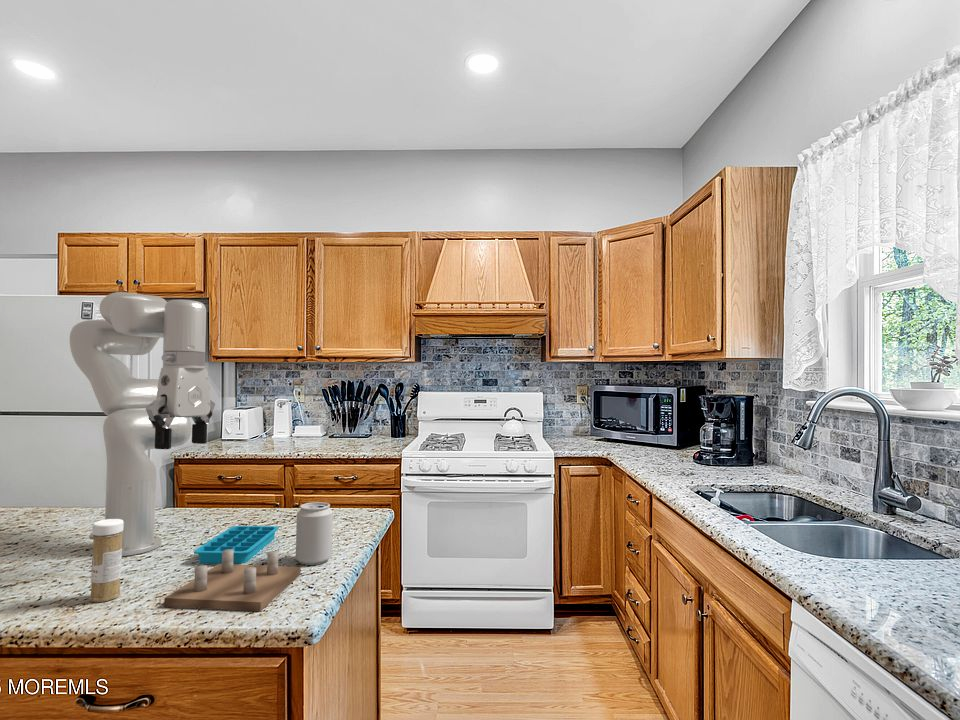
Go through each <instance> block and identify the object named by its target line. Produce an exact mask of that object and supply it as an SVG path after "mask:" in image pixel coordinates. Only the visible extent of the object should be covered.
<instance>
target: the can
mask: <svg viewBox="0 0 960 720" xmlns="http://www.w3.org/2000/svg"><path fill="white" fill-rule="evenodd" d="M330 506H331V504H330V503H329V502H321V501H317V502H316V501H315V502H306V503H302V504H301V505H300V506H299V508H300V509H299V510H298V512H297V513H296V528H295V529H296V530H295V531H296V532H295V535H296V536H295V560H296V561H298V563H300V564H301V565H304V564H305V565H304V566H315V565H316V566H317V565H320V564H324V563H326V562H328V561H329V559H330V558H331V557H332V555H333V529H334V528H333V527H334V526H333V525H334V524H333V522H334V511H333V510H332V509H331V507H330Z"/></svg>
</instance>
